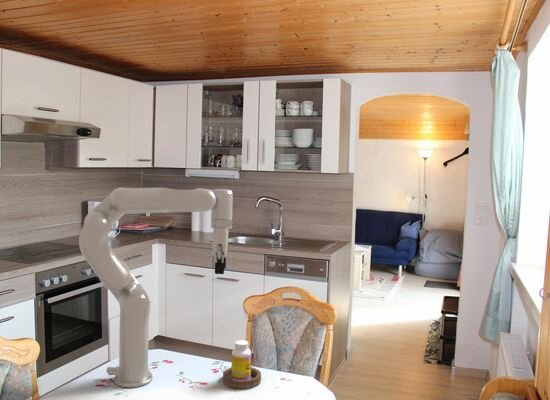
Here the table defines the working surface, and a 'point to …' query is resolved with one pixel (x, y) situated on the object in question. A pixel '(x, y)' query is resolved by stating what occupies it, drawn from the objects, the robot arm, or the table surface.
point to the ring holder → (242, 384)
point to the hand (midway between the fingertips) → (220, 271)
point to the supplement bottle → (241, 361)
